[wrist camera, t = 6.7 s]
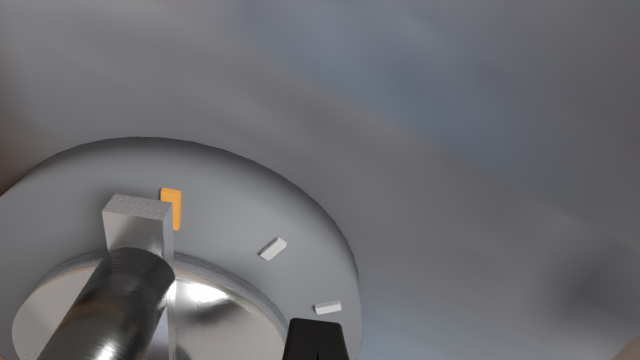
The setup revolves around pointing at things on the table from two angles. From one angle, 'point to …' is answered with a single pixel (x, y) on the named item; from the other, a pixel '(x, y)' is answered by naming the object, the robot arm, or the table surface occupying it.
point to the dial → (146, 301)
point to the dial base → (181, 225)
